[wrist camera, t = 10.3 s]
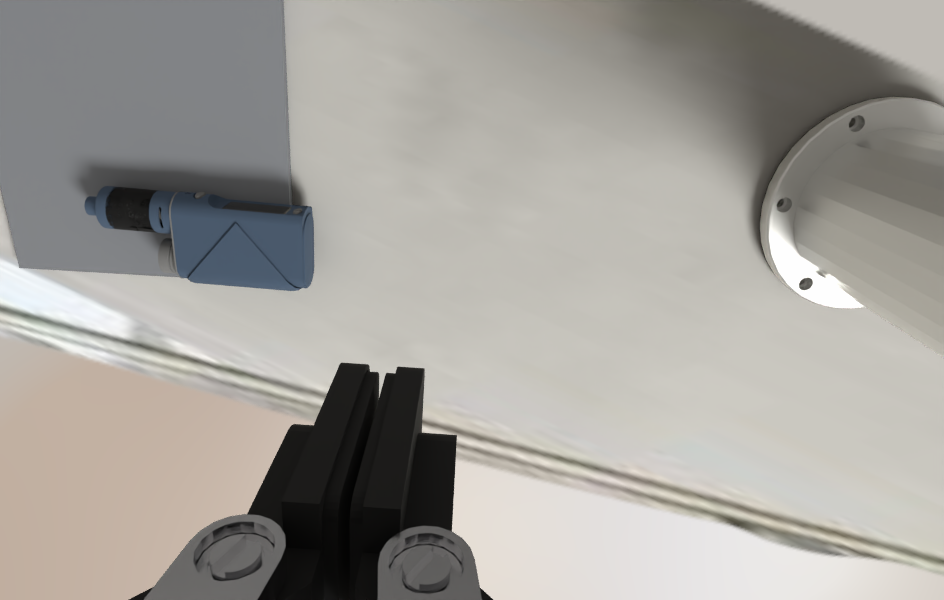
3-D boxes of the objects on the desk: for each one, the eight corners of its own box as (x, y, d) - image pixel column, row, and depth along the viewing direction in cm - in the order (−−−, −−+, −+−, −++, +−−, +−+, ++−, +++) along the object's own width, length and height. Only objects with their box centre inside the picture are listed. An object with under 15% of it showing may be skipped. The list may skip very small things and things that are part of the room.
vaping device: (302, 209, 32) (71, 188, 31) (304, 299, 34) (88, 281, 34) (313, 197, 34) (99, 177, 34) (315, 281, 36) (113, 264, 36)
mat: (282, -11, 31) (279, -12, 30) (295, 280, 37) (293, 283, 36) (-44, -39, 30) (-54, -40, 29) (26, 264, 36) (19, 267, 36)
